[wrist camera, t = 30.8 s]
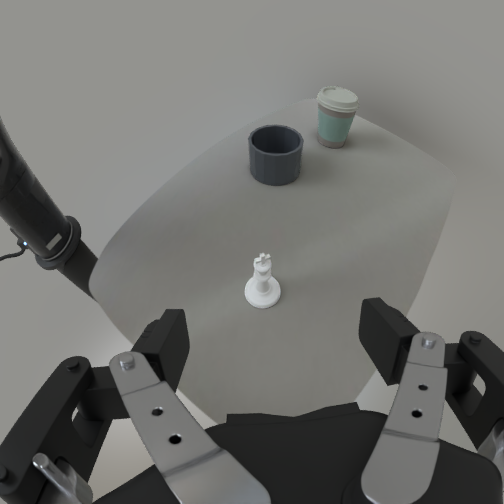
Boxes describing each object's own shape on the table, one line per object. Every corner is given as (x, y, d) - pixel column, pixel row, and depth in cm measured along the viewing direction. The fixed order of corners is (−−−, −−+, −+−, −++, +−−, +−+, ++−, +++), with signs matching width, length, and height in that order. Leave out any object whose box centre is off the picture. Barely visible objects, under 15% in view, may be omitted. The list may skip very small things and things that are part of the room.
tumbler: (253, 188, 48) (252, 158, 42) (247, 155, 53) (245, 127, 47) (305, 183, 48) (309, 153, 42) (293, 151, 53) (295, 123, 47)
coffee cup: (336, 127, 58) (344, 84, 48) (357, 149, 54) (368, 103, 43) (305, 132, 57) (309, 86, 46) (324, 155, 52) (332, 105, 42)
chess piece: (286, 301, 37) (293, 266, 28) (252, 313, 36) (248, 282, 28) (272, 271, 40) (275, 230, 31) (239, 282, 39) (233, 243, 30)
